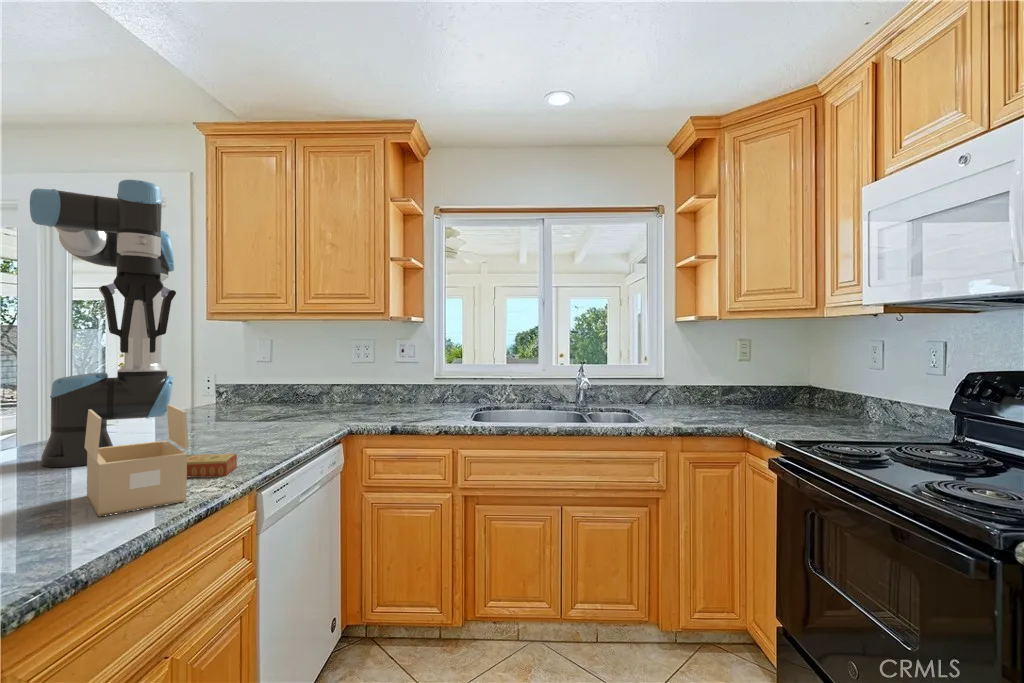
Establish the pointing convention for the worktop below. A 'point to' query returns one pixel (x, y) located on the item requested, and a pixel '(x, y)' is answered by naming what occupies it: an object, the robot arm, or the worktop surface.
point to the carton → (211, 464)
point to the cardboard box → (136, 477)
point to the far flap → (177, 426)
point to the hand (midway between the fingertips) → (137, 368)
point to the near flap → (93, 434)
